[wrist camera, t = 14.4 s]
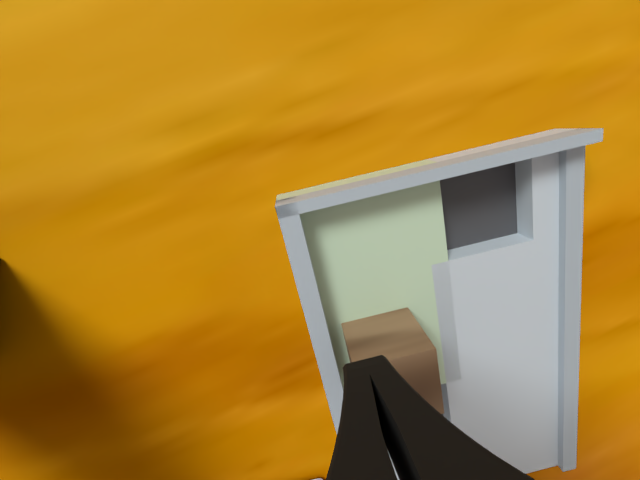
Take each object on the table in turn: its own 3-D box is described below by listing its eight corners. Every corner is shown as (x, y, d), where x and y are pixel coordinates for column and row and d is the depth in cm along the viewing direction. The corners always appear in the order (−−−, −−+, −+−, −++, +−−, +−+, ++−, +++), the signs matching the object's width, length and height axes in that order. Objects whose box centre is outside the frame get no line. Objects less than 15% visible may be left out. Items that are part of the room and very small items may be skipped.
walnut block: (416, 362, 21) (444, 413, 17) (353, 378, 21) (368, 432, 17) (407, 307, 20) (436, 348, 16) (340, 323, 20) (354, 368, 16)
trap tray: (554, 443, 27) (587, 481, 24) (356, 494, 26) (365, 540, 23) (554, 128, 19) (603, 128, 16) (276, 195, 19) (275, 206, 16)
